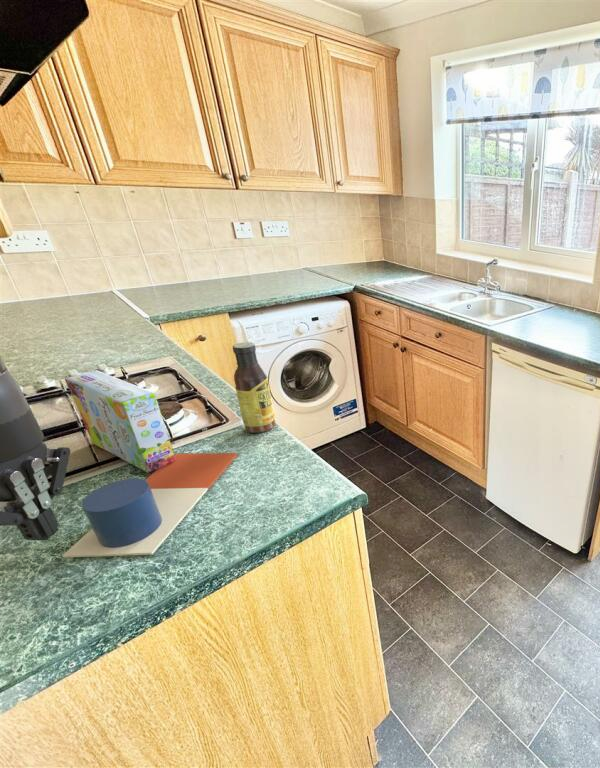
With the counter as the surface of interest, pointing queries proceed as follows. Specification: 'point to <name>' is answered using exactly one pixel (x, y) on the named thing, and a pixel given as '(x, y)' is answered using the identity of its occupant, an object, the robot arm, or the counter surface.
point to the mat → (165, 501)
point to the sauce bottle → (252, 390)
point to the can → (122, 512)
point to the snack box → (122, 419)
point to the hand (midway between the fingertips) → (44, 536)
